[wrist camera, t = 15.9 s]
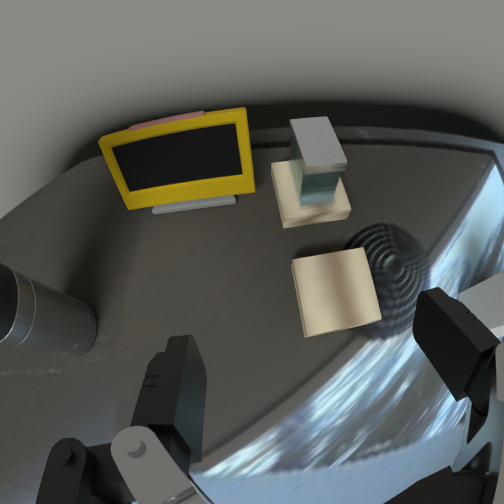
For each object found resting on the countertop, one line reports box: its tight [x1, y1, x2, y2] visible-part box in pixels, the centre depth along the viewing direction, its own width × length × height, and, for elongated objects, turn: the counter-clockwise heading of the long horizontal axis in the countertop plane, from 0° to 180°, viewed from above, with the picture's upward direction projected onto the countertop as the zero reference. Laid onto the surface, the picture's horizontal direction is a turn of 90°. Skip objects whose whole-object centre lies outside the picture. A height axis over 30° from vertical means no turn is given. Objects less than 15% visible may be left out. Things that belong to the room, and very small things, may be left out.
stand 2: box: [291, 247, 382, 337], centre depth 37 cm, size 10×10×3 cm
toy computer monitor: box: [99, 108, 255, 215], centre depth 39 cm, size 20×8×16 cm, turn 95°
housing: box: [288, 117, 348, 211], centre depth 37 cm, size 5×8×10 cm, turn 8°
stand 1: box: [271, 161, 351, 228], centre depth 43 cm, size 10×10×3 cm
